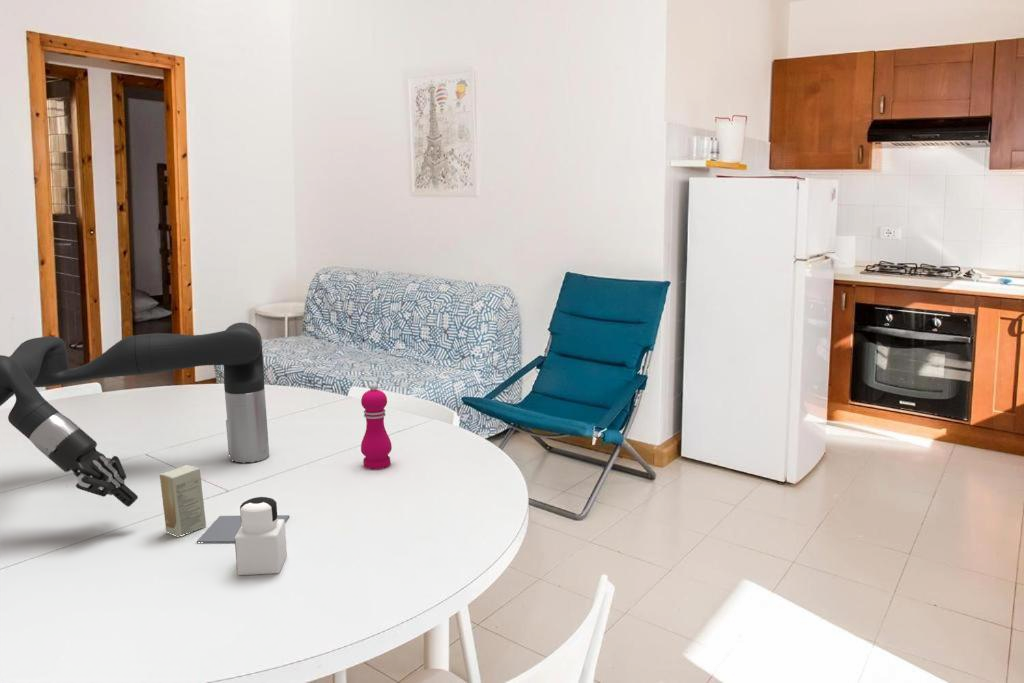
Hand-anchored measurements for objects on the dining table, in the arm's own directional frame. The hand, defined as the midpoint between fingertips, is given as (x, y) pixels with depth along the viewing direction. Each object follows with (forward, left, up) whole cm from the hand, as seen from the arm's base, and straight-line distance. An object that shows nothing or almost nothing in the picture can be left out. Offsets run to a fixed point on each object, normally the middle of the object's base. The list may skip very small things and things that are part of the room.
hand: (133, 502), depth 157 cm
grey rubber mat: (+16, +14, -6) cm, 22 cm away
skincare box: (+7, +6, -6) cm, 11 cm away
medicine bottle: (+32, +7, -6) cm, 34 cm away
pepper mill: (+7, +54, -6) cm, 55 cm away
